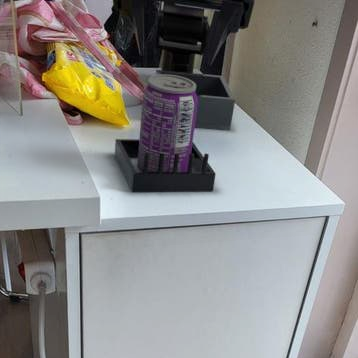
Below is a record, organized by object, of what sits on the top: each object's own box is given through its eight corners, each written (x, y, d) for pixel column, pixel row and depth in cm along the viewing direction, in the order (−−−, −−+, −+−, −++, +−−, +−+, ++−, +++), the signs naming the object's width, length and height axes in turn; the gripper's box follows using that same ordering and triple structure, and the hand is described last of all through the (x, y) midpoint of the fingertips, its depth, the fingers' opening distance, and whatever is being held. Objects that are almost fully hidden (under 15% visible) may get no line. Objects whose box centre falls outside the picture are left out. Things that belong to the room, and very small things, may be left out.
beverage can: (189, 167, 92) (201, 78, 84) (185, 188, 87) (198, 95, 79) (140, 159, 92) (148, 69, 84) (133, 180, 87) (140, 86, 79)
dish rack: (114, 156, 92) (116, 120, 89) (189, 156, 95) (193, 122, 92) (132, 192, 84) (134, 154, 81) (213, 191, 87) (218, 155, 84)
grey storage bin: (153, 99, 112) (155, 69, 109) (218, 105, 114) (223, 76, 110) (159, 124, 103) (162, 93, 100) (230, 130, 105) (235, 99, 102)
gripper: (117, -114, 79) (101, 9, 78) (269, -90, 80) (255, 31, 79) (120, -47, 90) (107, 61, 89) (253, -27, 91) (241, 80, 90)
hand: (175, 58), depth 86 cm, fingers open, 9 cm apart
